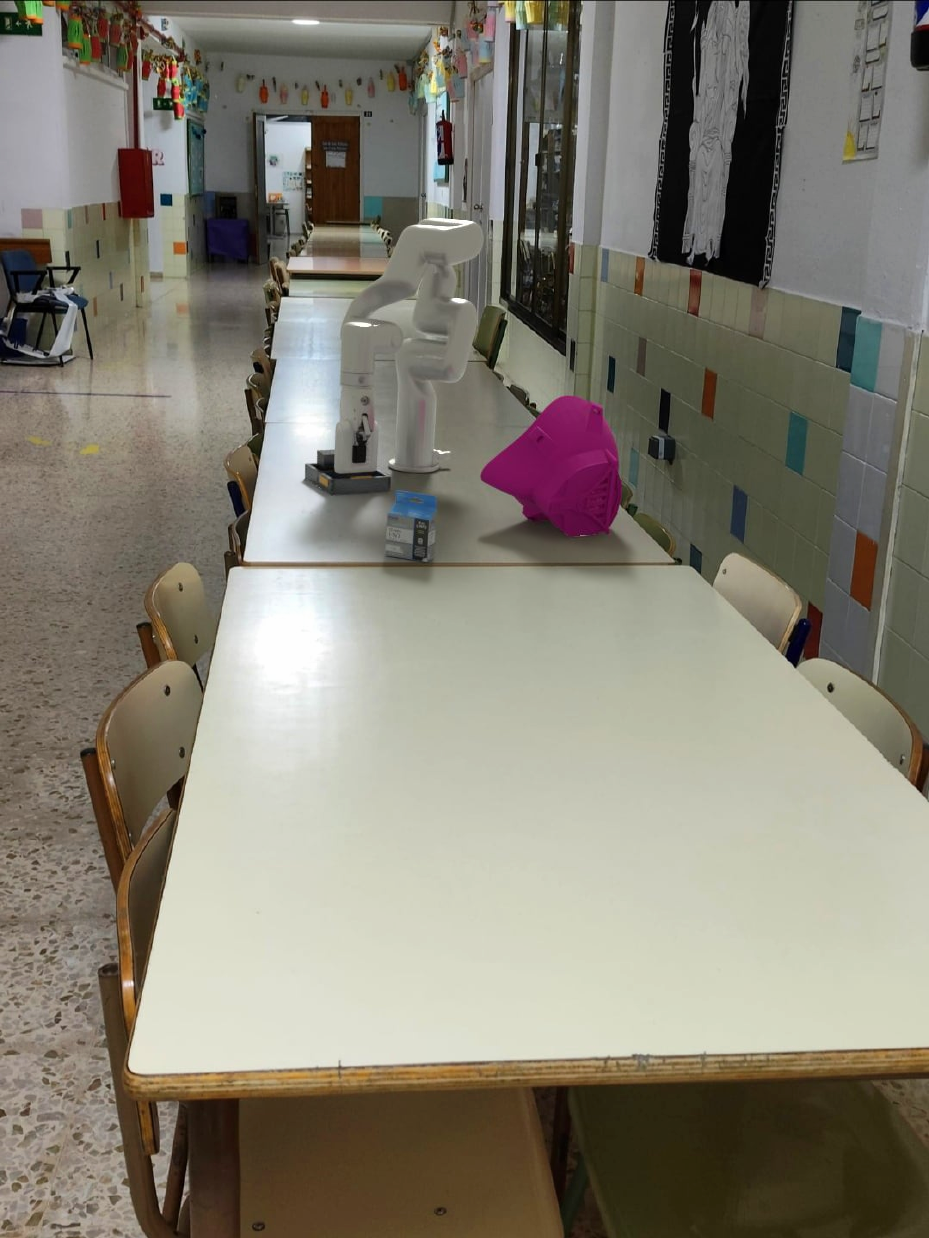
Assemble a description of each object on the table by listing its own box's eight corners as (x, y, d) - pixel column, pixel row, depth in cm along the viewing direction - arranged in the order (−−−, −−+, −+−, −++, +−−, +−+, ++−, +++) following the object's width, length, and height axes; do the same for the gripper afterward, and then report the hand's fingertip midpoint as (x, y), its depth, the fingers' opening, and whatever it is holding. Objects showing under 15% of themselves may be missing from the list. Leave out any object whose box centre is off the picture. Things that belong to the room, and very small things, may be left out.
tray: (362, 474, 290) (363, 446, 288) (390, 491, 277) (391, 461, 274) (304, 478, 283) (304, 449, 281) (330, 495, 270) (331, 465, 267)
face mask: (638, 550, 257) (509, 577, 248) (592, 495, 274) (469, 518, 264) (656, 437, 240) (518, 461, 231) (605, 386, 256) (474, 406, 247)
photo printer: (370, 468, 280) (372, 415, 276) (379, 472, 277) (382, 418, 272) (331, 471, 274) (332, 417, 270) (339, 475, 271) (341, 420, 267)
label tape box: (384, 556, 230) (386, 493, 226) (393, 550, 234) (395, 489, 229) (426, 563, 227) (430, 500, 223) (434, 558, 231) (438, 495, 227)
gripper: (388, 385, 263) (384, 467, 269) (357, 373, 277) (355, 451, 283) (356, 386, 260) (353, 469, 266) (327, 373, 273) (325, 453, 280)
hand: (354, 459), depth 274 cm, fingers closed on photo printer, 4 cm apart
